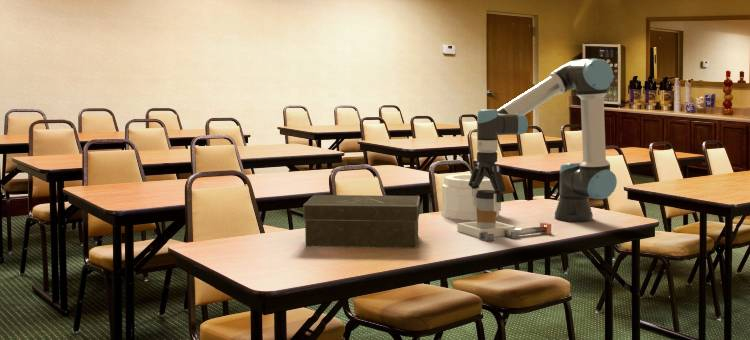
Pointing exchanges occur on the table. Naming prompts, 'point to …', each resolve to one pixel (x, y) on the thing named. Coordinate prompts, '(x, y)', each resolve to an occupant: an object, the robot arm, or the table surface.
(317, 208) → the box
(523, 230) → the lock bar
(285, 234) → the table surface
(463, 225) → the square tray
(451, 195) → the container
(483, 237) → the bar guides
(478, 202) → the coffee cup
